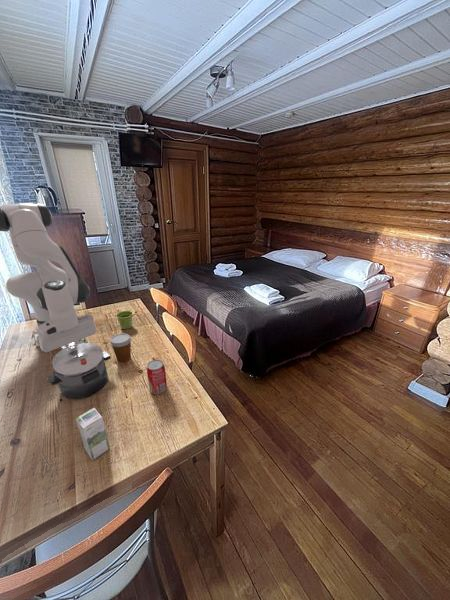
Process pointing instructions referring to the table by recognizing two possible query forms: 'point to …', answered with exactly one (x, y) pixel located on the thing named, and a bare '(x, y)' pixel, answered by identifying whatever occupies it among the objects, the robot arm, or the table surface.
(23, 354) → the table surface
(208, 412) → the table surface
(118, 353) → the disposable coffee cup
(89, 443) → the syrup box
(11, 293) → the robot arm
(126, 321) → the plant pot
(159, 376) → the soda can
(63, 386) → the cooker pot
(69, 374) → the cooker lid
